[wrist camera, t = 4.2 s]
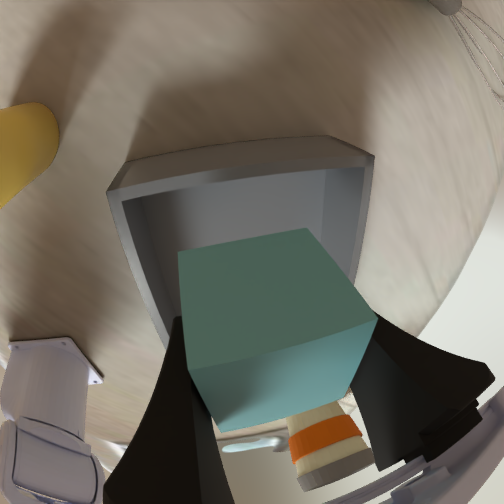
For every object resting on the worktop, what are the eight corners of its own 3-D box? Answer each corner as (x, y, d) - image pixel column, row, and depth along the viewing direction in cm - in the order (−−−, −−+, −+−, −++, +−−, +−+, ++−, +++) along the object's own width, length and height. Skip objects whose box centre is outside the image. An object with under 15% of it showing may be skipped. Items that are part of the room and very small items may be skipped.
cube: (202, 337, 13) (221, 432, 9) (177, 251, 10) (187, 370, 6) (300, 314, 14) (343, 397, 10) (306, 227, 11) (378, 318, 7)
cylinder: (11, 185, 13) (-45, 239, 7) (-5, 119, 10) (-72, 148, 4) (66, 164, 14) (13, 213, 8) (52, 90, 11) (-15, 101, 5)
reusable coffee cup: (330, 410, 47) (358, 471, 35) (270, 427, 44) (294, 495, 32) (352, 379, 40) (391, 453, 28) (281, 399, 37) (314, 486, 25)
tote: (314, 315, 27) (335, 353, 23) (181, 344, 25) (186, 390, 20) (329, 135, 17) (374, 155, 13) (124, 162, 15) (105, 192, 11)
